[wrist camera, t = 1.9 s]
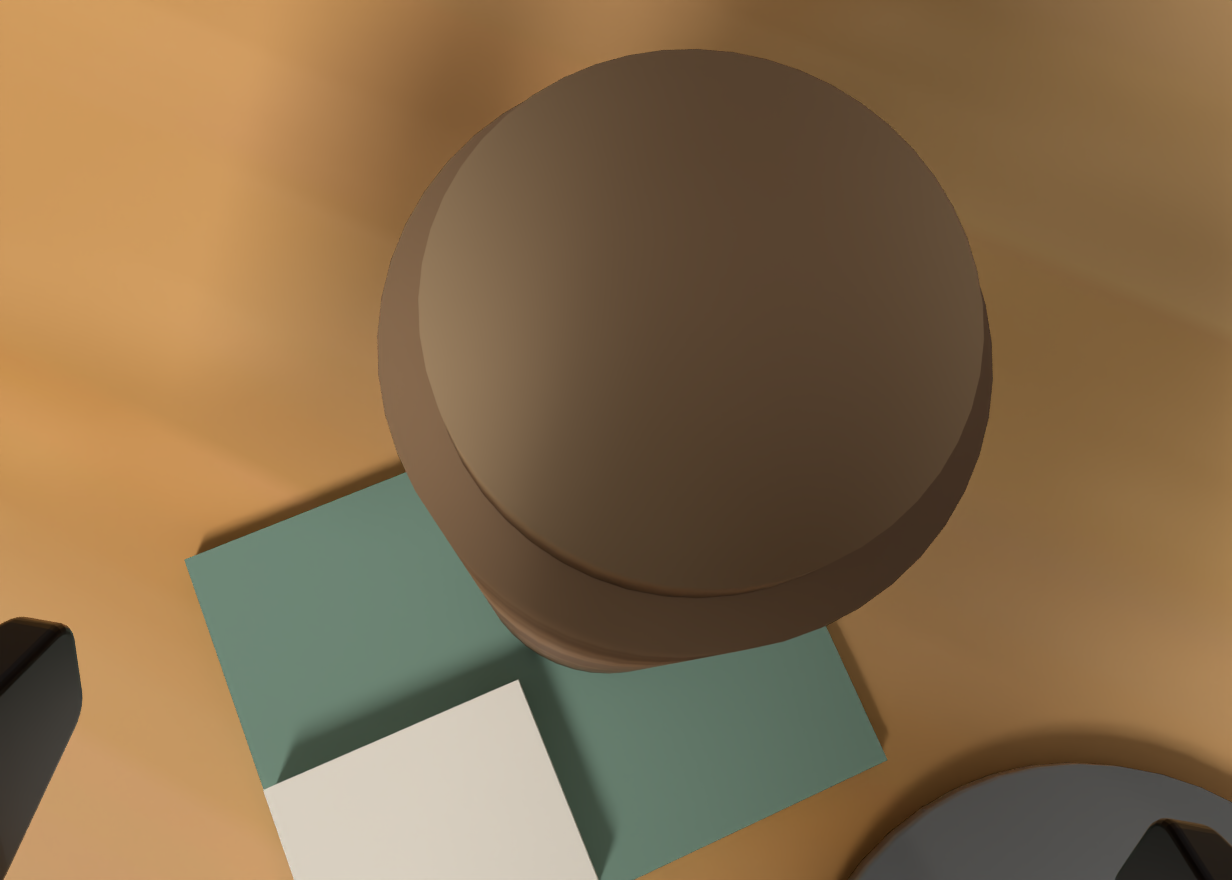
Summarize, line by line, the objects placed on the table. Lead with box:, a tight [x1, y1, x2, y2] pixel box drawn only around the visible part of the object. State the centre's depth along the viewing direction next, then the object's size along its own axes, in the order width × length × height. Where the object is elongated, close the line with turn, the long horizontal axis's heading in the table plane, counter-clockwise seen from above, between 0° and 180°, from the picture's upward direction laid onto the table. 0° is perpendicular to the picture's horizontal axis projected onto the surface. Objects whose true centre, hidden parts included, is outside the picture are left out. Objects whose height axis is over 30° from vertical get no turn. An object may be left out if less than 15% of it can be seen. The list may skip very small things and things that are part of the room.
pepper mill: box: [377, 49, 993, 674], centre depth 13 cm, size 5×5×12 cm
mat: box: [185, 472, 887, 880], centre depth 18 cm, size 10×8×1 cm
